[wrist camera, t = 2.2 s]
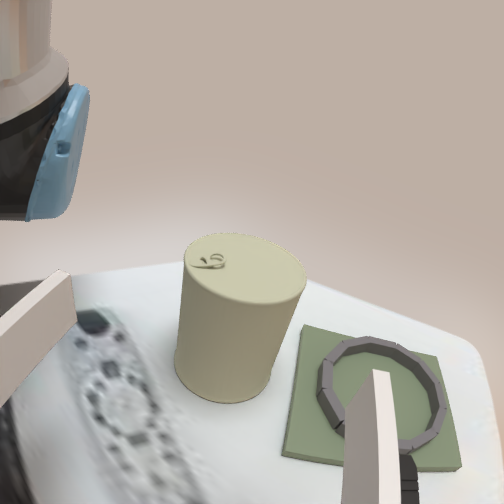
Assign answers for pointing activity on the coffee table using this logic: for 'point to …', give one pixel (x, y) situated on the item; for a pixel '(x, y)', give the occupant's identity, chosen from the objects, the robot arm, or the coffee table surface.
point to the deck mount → (346, 386)
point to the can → (234, 314)
